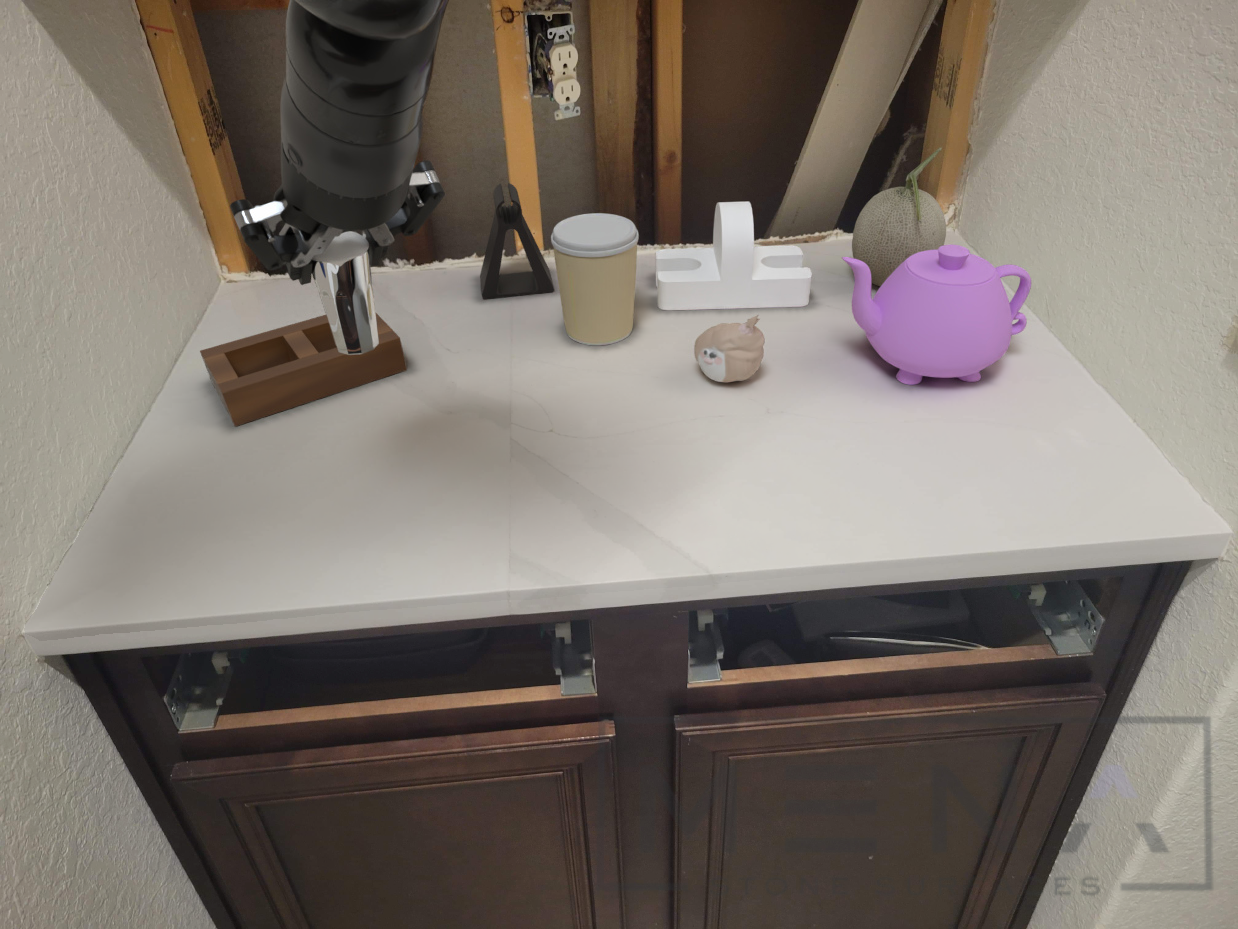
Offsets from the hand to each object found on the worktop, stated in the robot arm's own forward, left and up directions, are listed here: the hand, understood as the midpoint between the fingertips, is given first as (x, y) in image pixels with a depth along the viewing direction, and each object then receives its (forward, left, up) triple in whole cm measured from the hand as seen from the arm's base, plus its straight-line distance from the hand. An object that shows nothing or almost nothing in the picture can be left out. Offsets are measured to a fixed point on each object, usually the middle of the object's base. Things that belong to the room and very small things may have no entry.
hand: (335, 263), depth 62 cm
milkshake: (+1, -2, -6) cm, 7 cm away
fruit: (+63, +14, -20) cm, 68 cm away
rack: (-6, +19, -20) cm, 28 cm away
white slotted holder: (+44, +21, -20) cm, 53 cm away
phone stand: (+20, +32, -20) cm, 43 cm away
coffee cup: (+26, +17, -20) cm, 37 cm away
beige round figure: (+35, +2, -20) cm, 41 cm away
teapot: (+55, -3, -20) cm, 59 cm away
